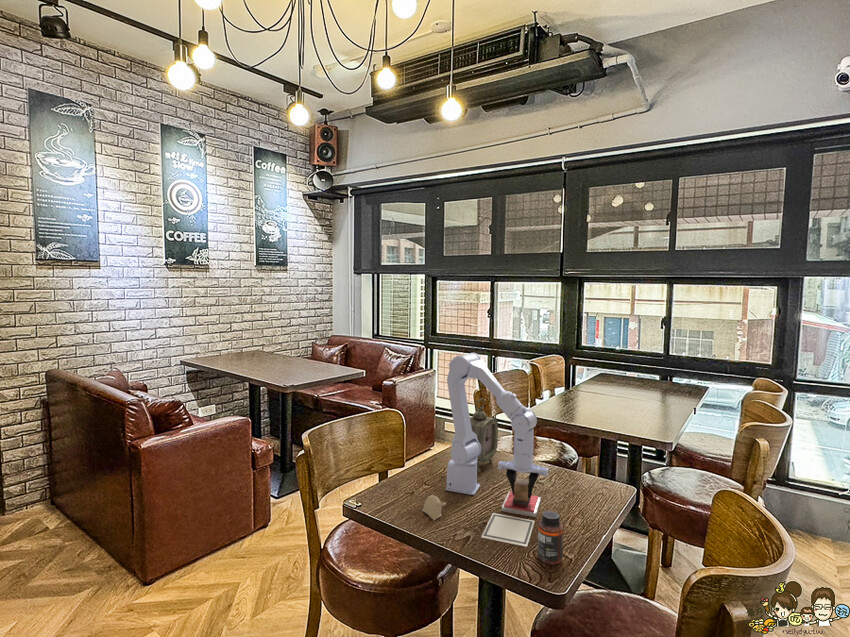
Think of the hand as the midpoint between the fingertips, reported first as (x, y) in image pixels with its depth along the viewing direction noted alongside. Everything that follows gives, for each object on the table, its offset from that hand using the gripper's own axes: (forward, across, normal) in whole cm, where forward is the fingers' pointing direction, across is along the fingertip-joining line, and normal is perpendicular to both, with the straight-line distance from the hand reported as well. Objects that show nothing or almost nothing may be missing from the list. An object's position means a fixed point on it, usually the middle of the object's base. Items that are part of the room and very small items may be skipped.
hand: (521, 495), depth 145 cm
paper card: (+3, -1, -15) cm, 15 cm away
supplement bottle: (+4, +11, -25) cm, 28 cm away
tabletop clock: (+3, -20, +25) cm, 32 cm away
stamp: (+2, 0, 0) cm, 2 cm away
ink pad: (+3, 0, 0) cm, 3 cm away
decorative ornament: (+4, -23, -15) cm, 28 cm away
